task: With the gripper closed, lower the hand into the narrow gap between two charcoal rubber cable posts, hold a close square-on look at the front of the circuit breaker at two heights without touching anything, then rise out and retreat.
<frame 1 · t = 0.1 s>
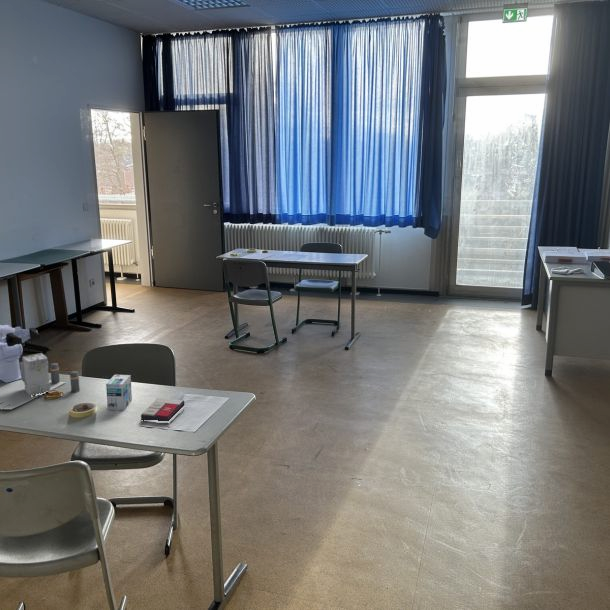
hand: (30, 339, 244), 22 cm above the table, tool horizontal, fingers open, 7 cm apart
red black flat box: (163, 416, 228), on the table
light bulb box: (120, 405, 235), on the table
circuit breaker: (35, 390, 249), on the table
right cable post: (75, 390, 249), on the table
left cable post: (55, 382, 257), on the table
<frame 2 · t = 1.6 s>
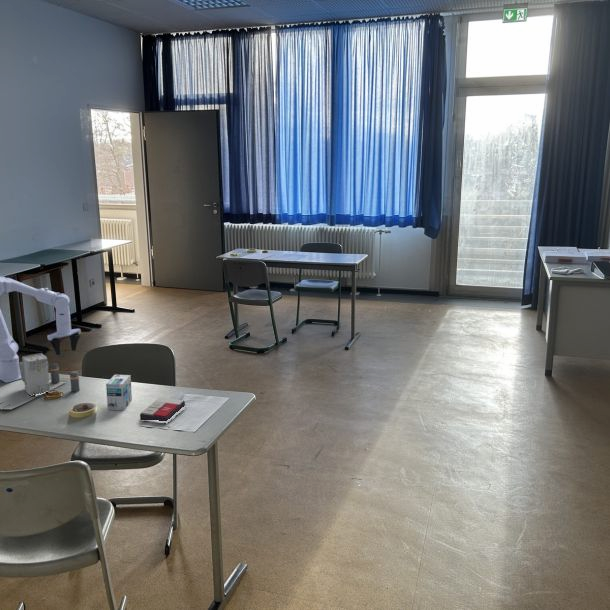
hand: (65, 352, 263), 10 cm above the table, tool pointing down, fingers open, 7 cm apart
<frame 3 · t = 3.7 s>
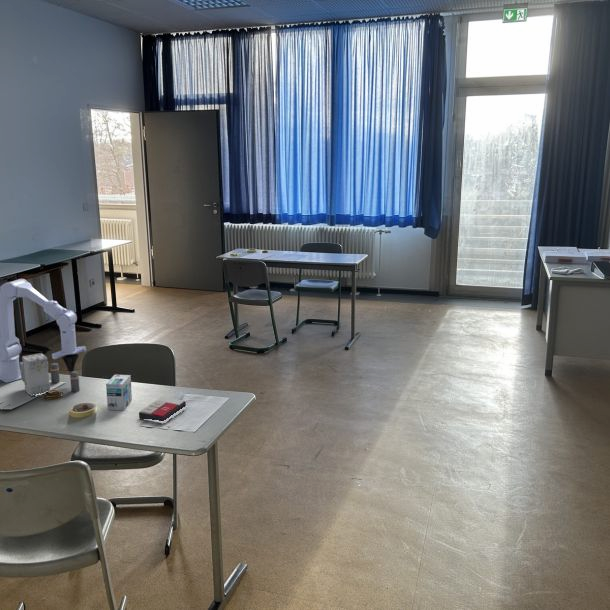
hand: (70, 371, 254), 6 cm above the table, tool pointing down, fingers closed
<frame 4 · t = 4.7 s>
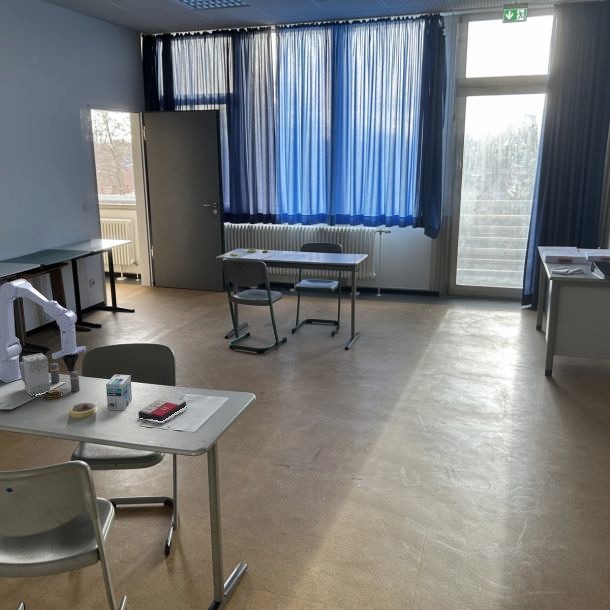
hand: (70, 371, 254), 6 cm above the table, tool pointing down, fingers closed
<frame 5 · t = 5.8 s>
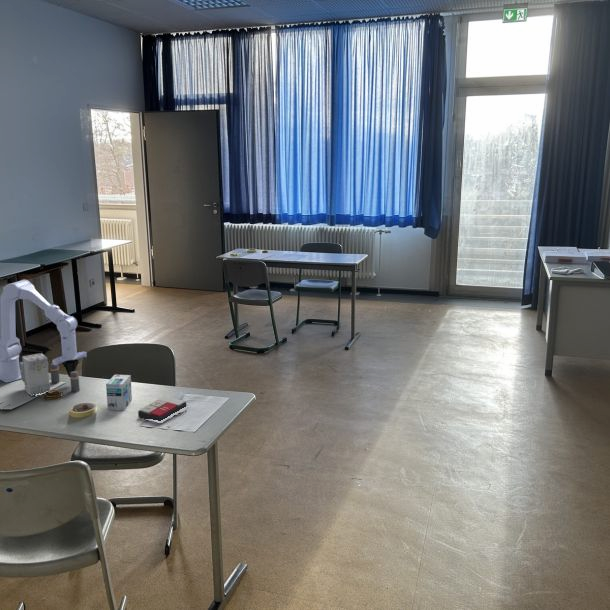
hand: (71, 376, 254), 3 cm above the table, tool pointing down, fingers closed
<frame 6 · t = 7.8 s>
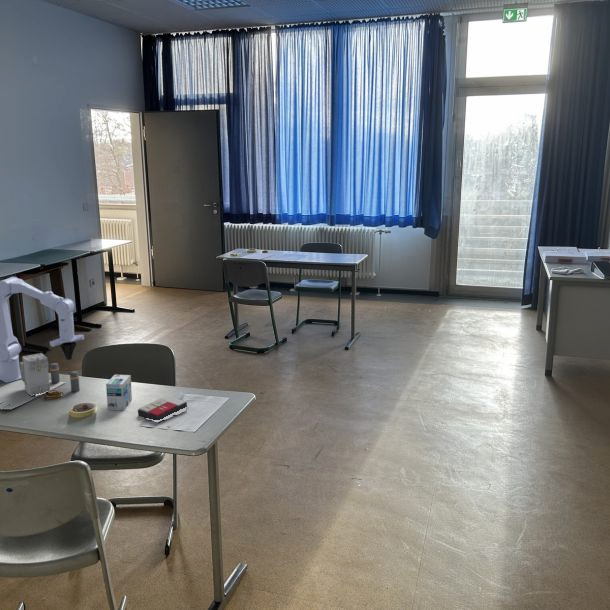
hand: (68, 359, 255), 10 cm above the table, tool pointing down, fingers closed
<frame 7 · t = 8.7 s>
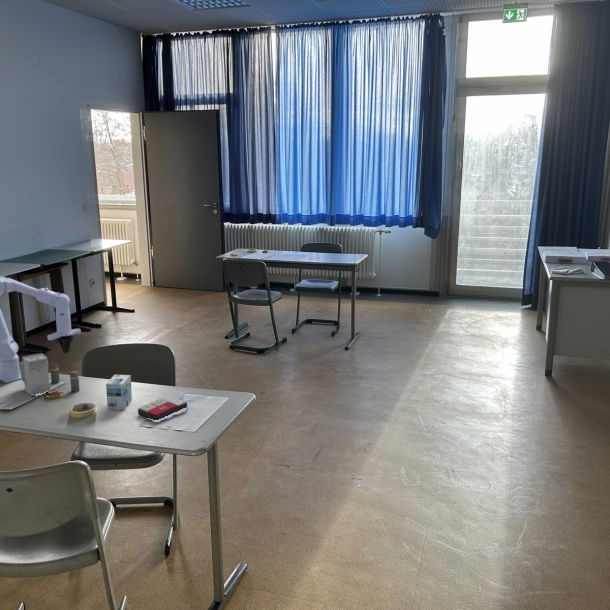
hand: (65, 352, 263), 10 cm above the table, tool pointing down, fingers closed
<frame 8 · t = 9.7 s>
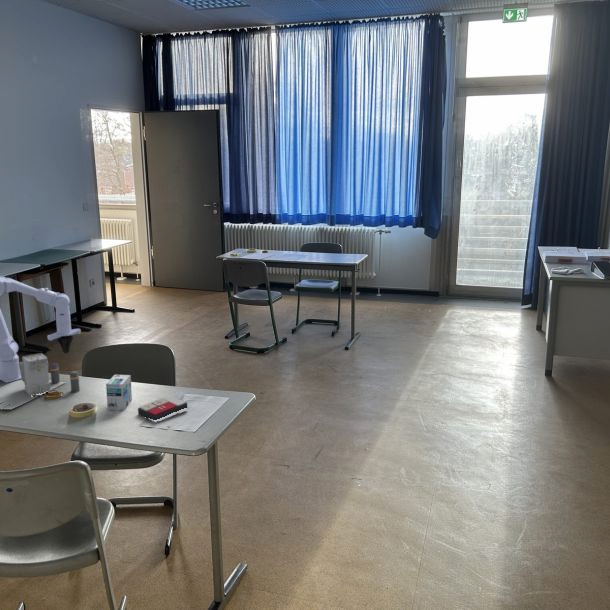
hand: (65, 352, 263), 10 cm above the table, tool pointing down, fingers closed
at the end: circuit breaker moved 0.2 cm from its start; left cable post moved 0.0 cm from its start; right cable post moved 0.0 cm from its start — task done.
